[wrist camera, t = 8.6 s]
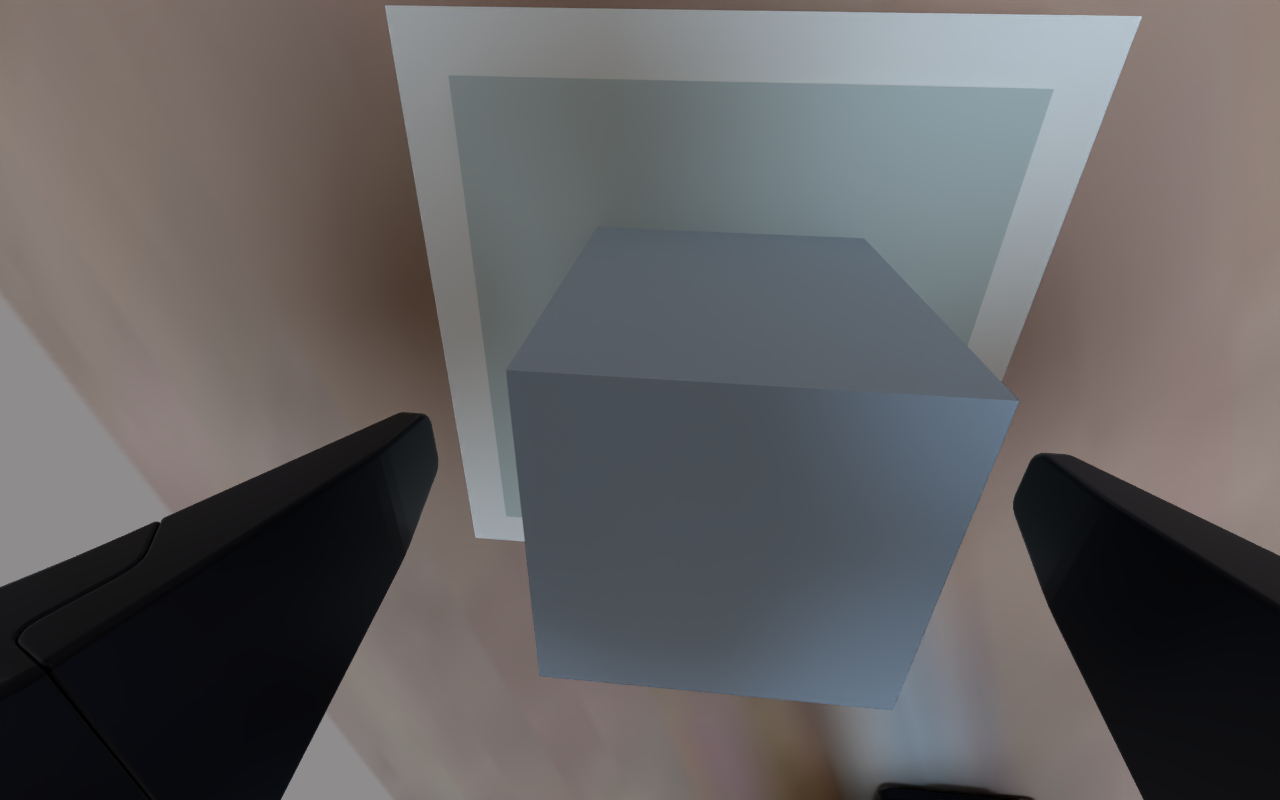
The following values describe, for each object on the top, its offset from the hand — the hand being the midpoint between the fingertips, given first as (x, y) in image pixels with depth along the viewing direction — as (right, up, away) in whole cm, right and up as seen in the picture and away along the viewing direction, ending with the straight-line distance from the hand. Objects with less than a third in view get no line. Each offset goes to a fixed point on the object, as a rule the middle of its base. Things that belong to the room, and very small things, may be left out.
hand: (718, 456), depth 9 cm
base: (+1, +3, +6) cm, 7 cm away
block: (0, +2, +3) cm, 4 cm away
